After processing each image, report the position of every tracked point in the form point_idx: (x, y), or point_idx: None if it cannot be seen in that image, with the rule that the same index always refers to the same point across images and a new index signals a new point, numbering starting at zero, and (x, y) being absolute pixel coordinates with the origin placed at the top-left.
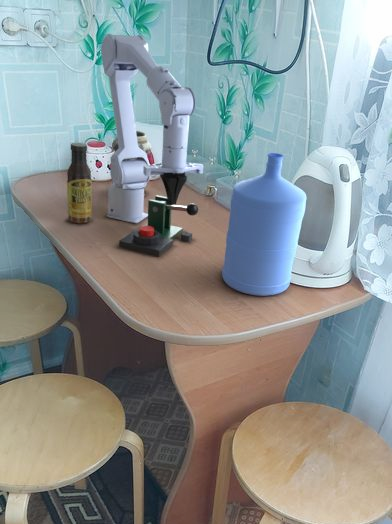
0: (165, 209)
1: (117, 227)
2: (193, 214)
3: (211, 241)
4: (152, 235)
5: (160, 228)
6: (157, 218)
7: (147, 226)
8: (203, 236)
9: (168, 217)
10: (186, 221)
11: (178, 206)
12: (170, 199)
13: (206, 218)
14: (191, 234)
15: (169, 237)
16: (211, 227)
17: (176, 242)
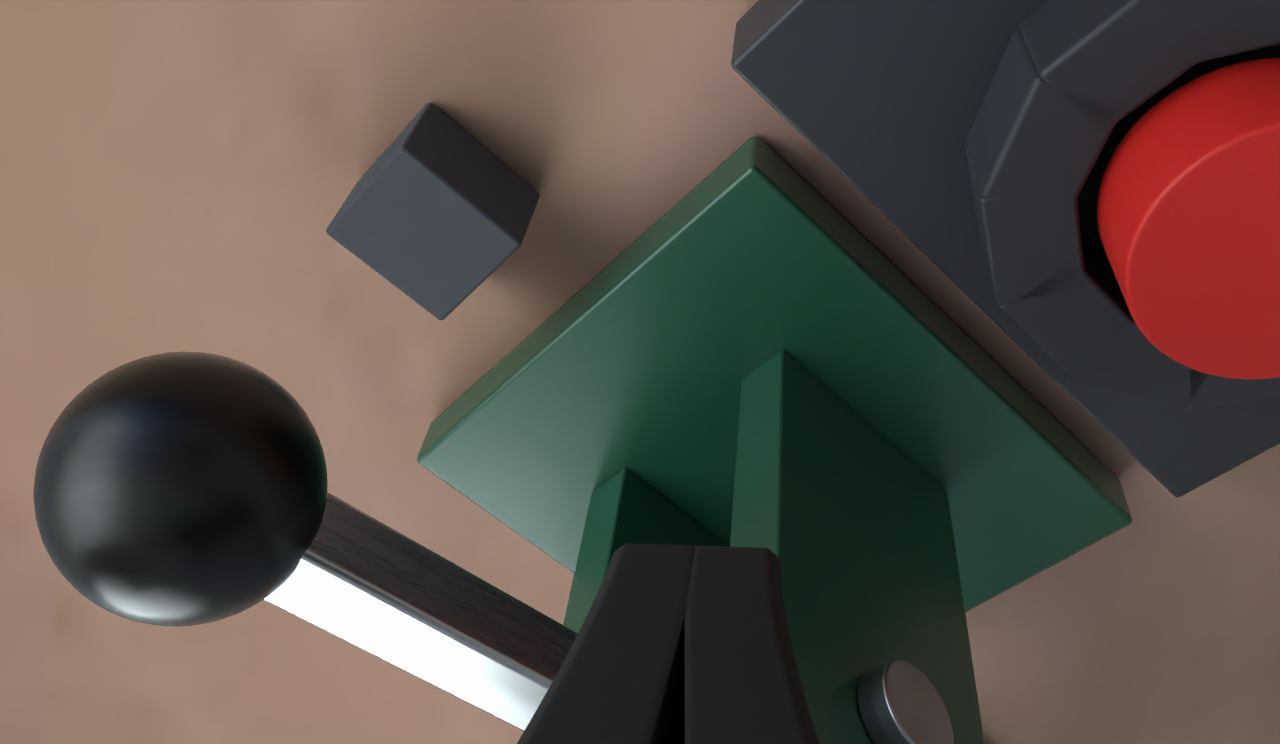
0: None
1: (1196, 689)
2: (196, 354)
3: (58, 63)
4: (1192, 91)
5: (810, 420)
6: (854, 565)
7: (1215, 330)
8: (162, 251)
9: None
10: (311, 652)
11: (460, 652)
12: (798, 689)
13: (66, 665)
14: (344, 208)
15: (725, 214)
16: (24, 467)
17: (621, 141)
